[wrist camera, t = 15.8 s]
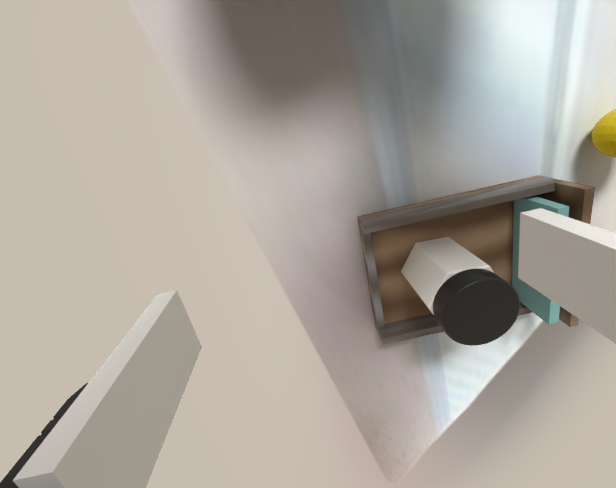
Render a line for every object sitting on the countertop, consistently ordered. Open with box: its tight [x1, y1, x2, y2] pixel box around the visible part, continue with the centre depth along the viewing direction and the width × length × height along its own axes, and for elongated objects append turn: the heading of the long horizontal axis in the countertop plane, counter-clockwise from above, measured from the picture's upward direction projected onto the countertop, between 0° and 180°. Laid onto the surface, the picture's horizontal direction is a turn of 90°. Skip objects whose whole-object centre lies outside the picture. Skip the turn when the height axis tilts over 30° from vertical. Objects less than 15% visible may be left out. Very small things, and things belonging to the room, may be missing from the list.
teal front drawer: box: [358, 176, 595, 344], centre depth 40 cm, size 18×24×8 cm
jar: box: [401, 237, 520, 345], centre depth 38 cm, size 9×8×12 cm
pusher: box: [512, 196, 569, 324], centre depth 39 cm, size 15×2×8 cm, turn 13°
